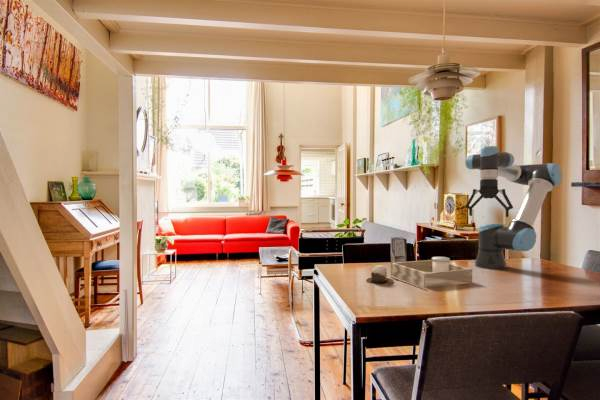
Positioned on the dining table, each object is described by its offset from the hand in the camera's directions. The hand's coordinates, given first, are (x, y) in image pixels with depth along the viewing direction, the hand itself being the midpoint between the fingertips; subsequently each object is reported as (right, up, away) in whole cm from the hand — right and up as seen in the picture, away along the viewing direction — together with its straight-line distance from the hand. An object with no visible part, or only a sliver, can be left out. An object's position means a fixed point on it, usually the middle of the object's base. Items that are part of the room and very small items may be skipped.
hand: (488, 223), depth 177 cm
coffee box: (-38, -25, +18) cm, 49 cm away
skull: (-54, -26, -11) cm, 61 cm away
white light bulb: (-26, -24, -9) cm, 37 cm away
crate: (-32, -25, -11) cm, 42 cm away
